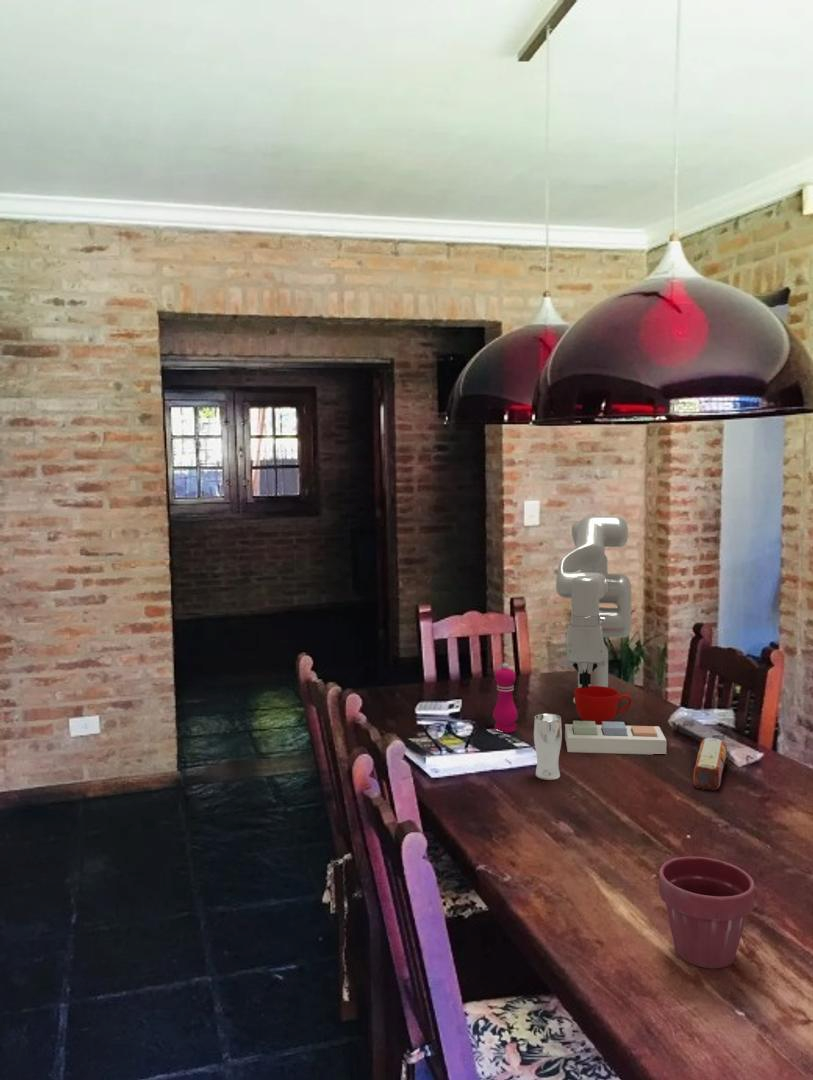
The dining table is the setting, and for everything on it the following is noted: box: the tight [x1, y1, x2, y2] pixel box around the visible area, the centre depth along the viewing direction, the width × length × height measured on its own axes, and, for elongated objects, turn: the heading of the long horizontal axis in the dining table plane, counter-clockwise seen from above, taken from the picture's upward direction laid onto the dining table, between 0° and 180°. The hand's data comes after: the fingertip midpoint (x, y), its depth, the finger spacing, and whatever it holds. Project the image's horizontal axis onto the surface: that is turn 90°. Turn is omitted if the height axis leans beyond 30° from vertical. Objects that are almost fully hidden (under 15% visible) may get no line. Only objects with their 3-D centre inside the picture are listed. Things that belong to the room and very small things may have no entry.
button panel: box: [564, 723, 667, 755], centre depth 232 cm, size 12×26×4 cm, turn 83°
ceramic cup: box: [574, 686, 632, 725], centre depth 252 cm, size 13×17×10 cm
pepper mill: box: [492, 662, 519, 734], centre depth 247 cm, size 7×7×20 cm
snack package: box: [692, 737, 728, 791], centre depth 209 cm, size 21×7×7 cm, turn 155°
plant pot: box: [658, 856, 755, 969], centre depth 134 cm, size 14×14×13 cm
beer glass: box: [533, 713, 563, 781], centre depth 210 cm, size 7×7×15 cm
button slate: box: [602, 721, 627, 736], centre depth 232 cm, size 6×6×2 cm
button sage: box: [572, 720, 597, 735], centre depth 233 cm, size 6×6×2 cm
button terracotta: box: [630, 725, 657, 737], centre depth 231 cm, size 6×6×2 cm
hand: (584, 686), depth 232 cm, fingers closed
